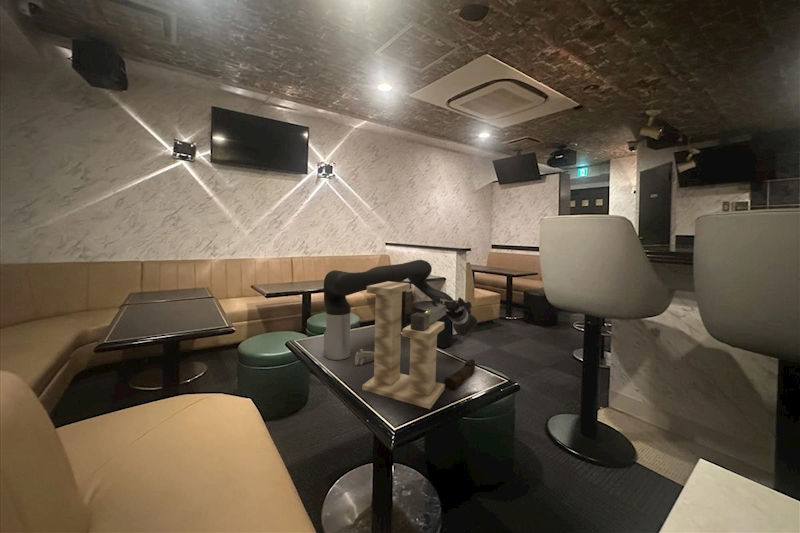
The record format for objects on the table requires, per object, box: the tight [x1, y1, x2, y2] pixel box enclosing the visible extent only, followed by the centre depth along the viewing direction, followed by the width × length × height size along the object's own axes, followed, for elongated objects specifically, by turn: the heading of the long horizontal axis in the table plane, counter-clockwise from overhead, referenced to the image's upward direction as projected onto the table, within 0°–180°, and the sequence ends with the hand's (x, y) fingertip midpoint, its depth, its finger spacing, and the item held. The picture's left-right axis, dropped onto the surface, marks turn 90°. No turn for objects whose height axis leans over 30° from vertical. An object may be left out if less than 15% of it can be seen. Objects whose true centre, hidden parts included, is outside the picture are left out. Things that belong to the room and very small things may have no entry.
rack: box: [361, 281, 446, 410], centre depth 93 cm, size 22×13×32 cm, turn 64°
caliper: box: [354, 348, 402, 367], centre depth 116 cm, size 20×1×6 cm, turn 127°
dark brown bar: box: [443, 359, 476, 391], centre depth 102 cm, size 19×4×5 cm, turn 141°
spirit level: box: [410, 305, 447, 331], centre depth 95 cm, size 4×22×4 cm, turn 154°
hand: (447, 298), depth 109 cm, fingers open, 8 cm apart
